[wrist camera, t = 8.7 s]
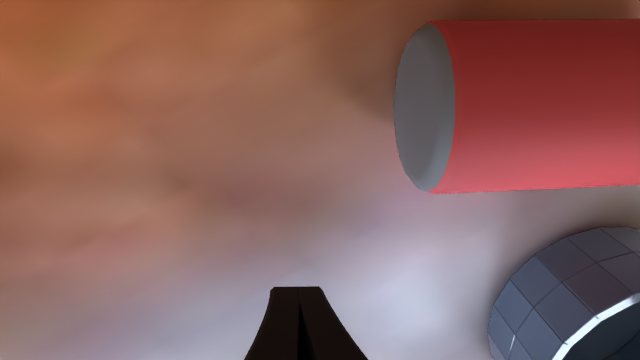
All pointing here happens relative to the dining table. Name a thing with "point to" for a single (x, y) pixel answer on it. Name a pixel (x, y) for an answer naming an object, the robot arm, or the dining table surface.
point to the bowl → (573, 301)
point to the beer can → (519, 105)
